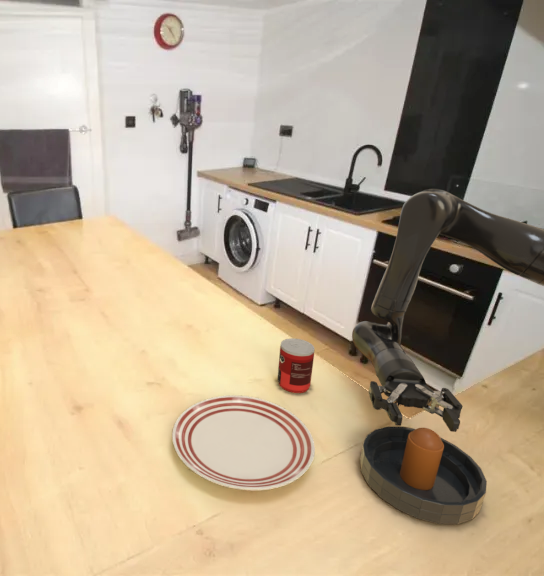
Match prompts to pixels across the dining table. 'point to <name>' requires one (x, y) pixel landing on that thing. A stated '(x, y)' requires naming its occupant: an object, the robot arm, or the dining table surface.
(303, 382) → the canned food
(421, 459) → the orange round-topped cylinder
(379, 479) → the shallow round tray
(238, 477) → the dinner plate
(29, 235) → the dining table surface
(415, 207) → the robot arm
